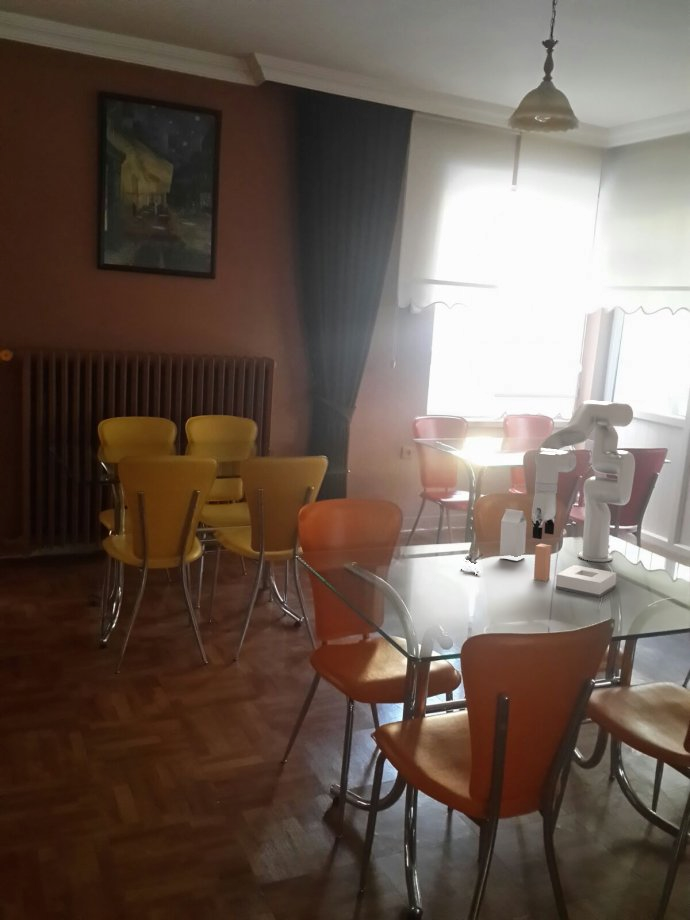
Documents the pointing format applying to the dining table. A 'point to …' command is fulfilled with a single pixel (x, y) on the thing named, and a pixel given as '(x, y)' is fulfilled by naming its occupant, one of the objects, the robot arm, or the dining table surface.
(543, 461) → the robot arm
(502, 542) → the milk carton
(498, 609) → the dining table surface
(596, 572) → the socket block
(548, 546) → the peg
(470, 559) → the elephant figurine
